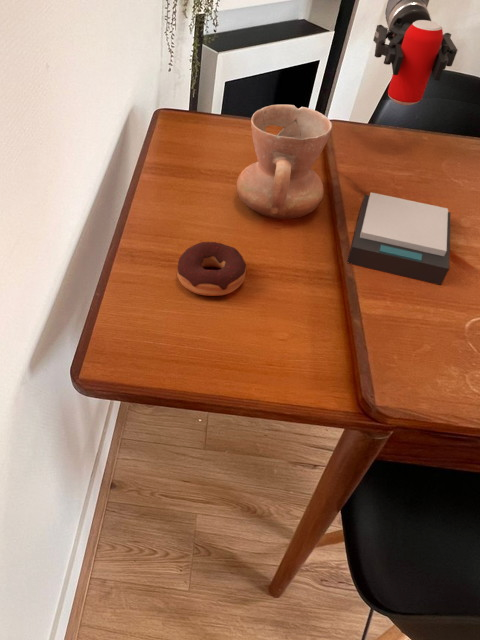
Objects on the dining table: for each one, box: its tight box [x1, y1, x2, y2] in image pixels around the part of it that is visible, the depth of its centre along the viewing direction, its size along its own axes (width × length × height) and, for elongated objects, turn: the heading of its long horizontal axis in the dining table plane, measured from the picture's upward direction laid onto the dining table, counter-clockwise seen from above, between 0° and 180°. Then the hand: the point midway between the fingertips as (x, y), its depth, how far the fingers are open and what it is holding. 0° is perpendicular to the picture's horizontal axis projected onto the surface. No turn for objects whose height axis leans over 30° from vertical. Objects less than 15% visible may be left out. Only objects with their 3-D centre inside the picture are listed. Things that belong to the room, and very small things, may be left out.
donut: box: [176, 241, 247, 297], centre depth 75 cm, size 10×10×4 cm
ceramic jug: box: [236, 104, 333, 220], centre depth 85 cm, size 18×14×14 cm
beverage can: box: [387, 20, 444, 106], centre depth 91 cm, size 6×6×12 cm
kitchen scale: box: [346, 191, 452, 286], centre depth 83 cm, size 16×14×4 cm
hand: (419, 68), depth 87 cm, fingers closed on beverage can, 6 cm apart
